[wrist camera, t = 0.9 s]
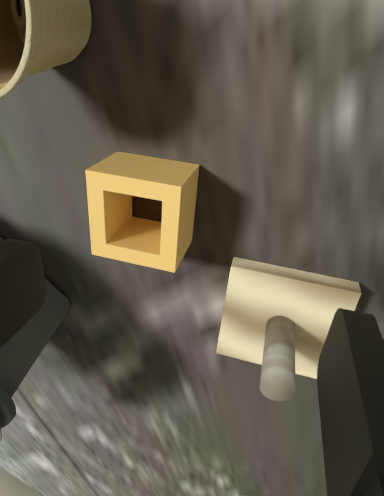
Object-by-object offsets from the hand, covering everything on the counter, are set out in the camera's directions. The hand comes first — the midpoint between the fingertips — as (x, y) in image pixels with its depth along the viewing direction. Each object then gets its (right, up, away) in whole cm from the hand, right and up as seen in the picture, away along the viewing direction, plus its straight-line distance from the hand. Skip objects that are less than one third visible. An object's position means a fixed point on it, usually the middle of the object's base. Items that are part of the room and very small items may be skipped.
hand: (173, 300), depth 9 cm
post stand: (+8, -5, +22) cm, 24 cm away
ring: (-2, +5, +19) cm, 20 cm away
